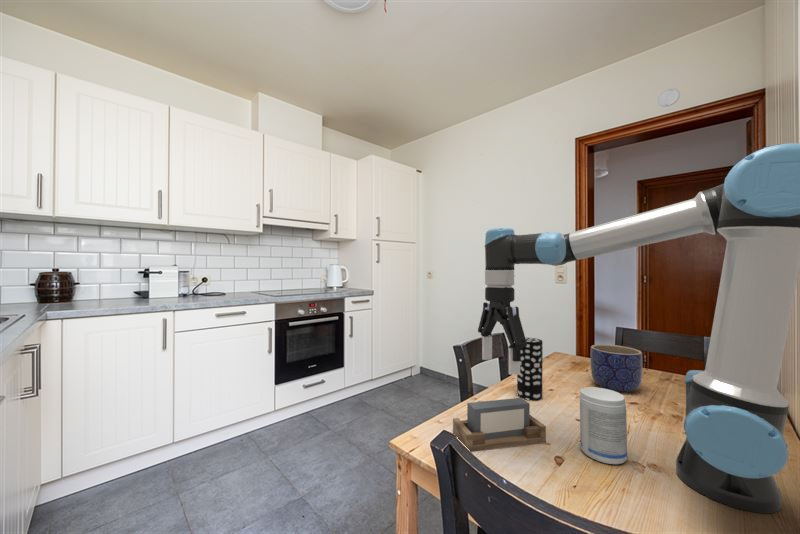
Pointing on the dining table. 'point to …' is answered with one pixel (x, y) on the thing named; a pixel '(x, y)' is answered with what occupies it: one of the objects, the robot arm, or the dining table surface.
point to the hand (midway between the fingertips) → (499, 366)
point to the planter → (616, 367)
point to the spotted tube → (531, 370)
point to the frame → (498, 417)
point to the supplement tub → (603, 425)
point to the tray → (478, 442)
